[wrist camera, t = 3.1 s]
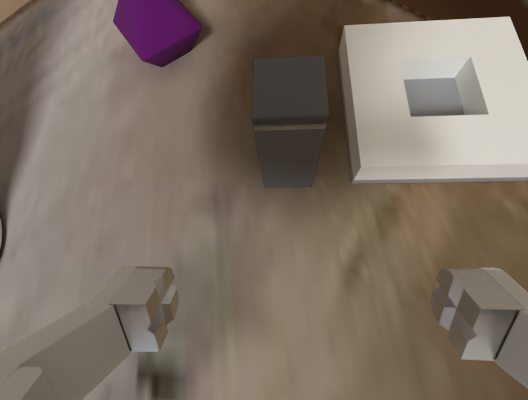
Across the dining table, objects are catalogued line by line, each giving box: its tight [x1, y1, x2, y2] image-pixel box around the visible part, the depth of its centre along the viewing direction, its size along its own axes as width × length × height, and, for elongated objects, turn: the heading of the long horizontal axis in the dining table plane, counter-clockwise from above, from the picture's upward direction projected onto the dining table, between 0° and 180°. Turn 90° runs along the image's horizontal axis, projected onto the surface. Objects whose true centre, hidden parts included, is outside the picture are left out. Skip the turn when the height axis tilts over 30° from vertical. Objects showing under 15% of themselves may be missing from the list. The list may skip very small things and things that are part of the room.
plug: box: [252, 55, 329, 188], centre depth 22 cm, size 4×4×11 cm
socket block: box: [338, 17, 528, 184], centre depth 27 cm, size 16×16×4 cm
